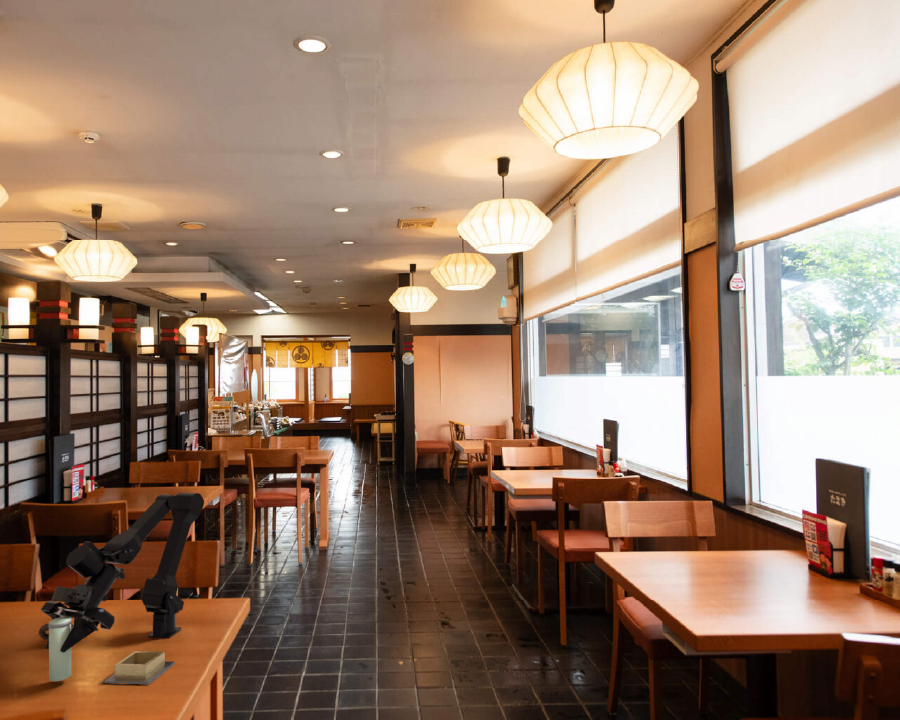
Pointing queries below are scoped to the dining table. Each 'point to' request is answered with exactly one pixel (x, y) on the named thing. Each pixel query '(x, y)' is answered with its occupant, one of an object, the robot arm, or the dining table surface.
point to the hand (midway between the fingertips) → (54, 650)
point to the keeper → (140, 668)
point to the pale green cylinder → (58, 659)
